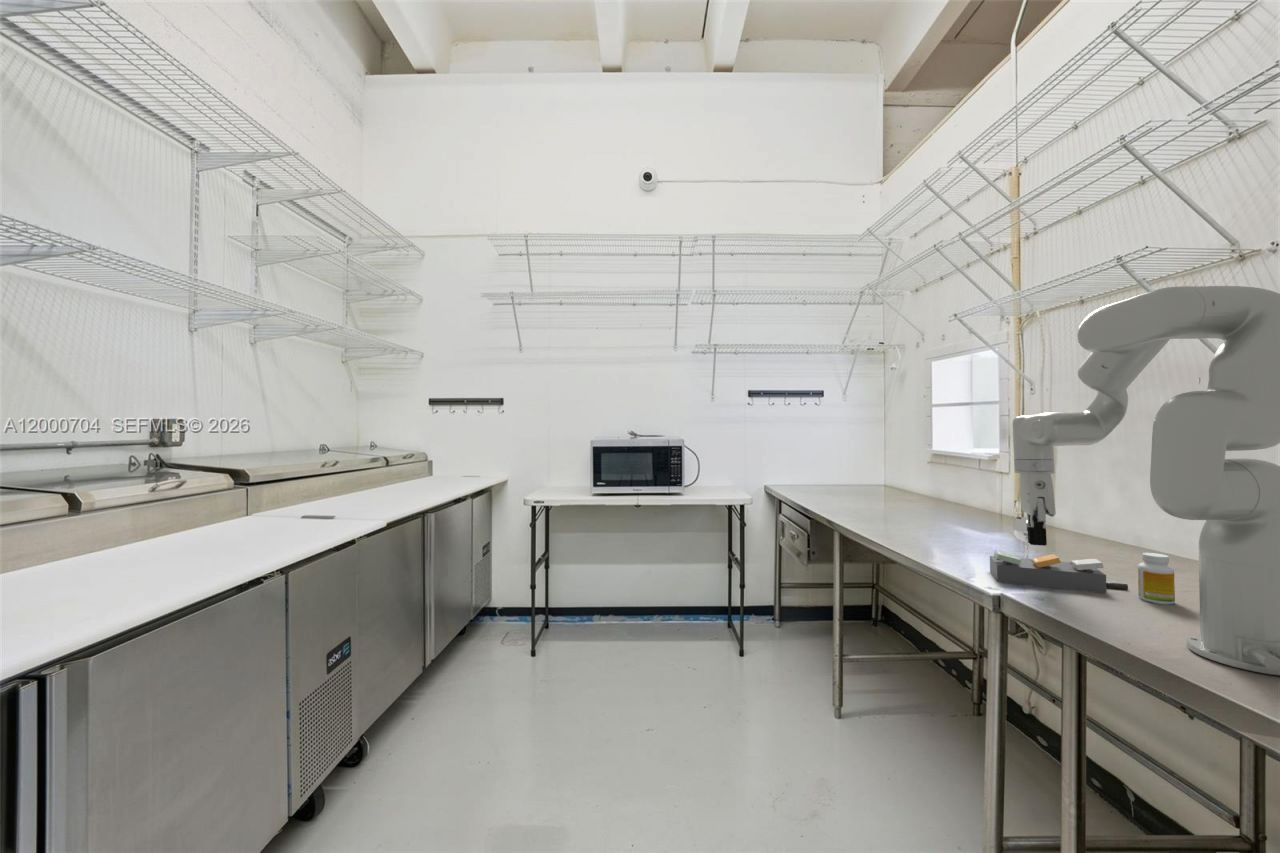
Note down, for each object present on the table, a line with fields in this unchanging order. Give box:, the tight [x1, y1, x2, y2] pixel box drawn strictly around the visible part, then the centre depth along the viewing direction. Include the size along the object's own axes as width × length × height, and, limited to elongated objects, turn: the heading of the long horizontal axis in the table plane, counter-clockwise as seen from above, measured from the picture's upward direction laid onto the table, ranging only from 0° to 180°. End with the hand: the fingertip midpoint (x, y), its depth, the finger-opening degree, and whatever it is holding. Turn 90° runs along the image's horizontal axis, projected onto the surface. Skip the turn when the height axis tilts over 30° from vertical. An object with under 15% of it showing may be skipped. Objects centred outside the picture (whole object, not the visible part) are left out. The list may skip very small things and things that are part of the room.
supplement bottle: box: [1137, 552, 1176, 605], centre depth 106 cm, size 5×5×10 cm
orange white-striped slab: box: [1031, 553, 1062, 568], centre depth 119 cm, size 4×5×1 cm
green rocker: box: [993, 550, 1021, 565], centre depth 122 cm, size 4×5×1 cm
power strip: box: [989, 555, 1129, 594], centre depth 119 cm, size 10×25×4 cm, turn 63°
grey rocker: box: [1070, 558, 1104, 570], centre depth 115 cm, size 4×5×1 cm
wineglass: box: [1013, 516, 1030, 559], centre depth 137 cm, size 6×6×12 cm
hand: (1037, 544), depth 119 cm, fingers closed
